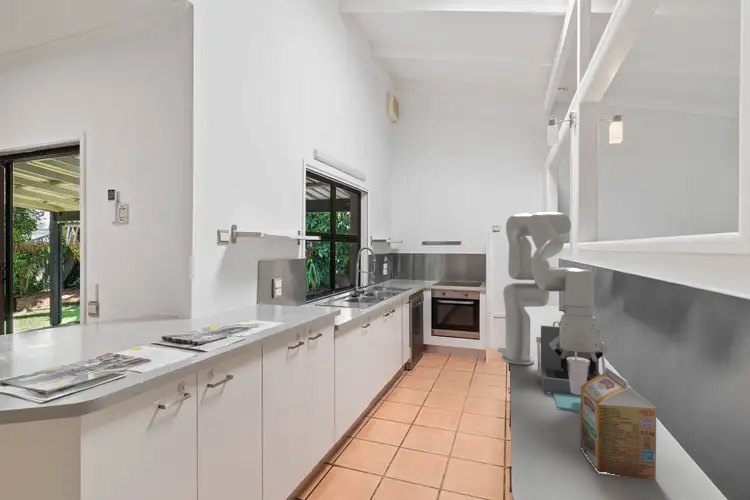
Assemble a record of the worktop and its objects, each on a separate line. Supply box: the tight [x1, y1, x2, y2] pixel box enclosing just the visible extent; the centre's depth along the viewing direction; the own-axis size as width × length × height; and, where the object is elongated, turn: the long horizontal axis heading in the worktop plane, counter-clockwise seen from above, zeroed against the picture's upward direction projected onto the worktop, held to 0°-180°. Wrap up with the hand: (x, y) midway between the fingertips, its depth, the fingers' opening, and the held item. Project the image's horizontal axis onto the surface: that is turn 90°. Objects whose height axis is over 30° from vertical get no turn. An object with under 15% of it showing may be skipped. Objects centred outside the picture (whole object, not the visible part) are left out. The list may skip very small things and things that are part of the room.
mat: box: [553, 393, 581, 413], centre depth 117 cm, size 12×12×1 cm
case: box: [536, 325, 606, 396], centre depth 131 cm, size 21×15×18 cm
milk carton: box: [579, 366, 657, 481], centre depth 85 cm, size 11×11×19 cm
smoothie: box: [566, 351, 590, 395], centre depth 117 cm, size 6×6×14 cm
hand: (577, 372), depth 117 cm, fingers closed on smoothie, 6 cm apart
